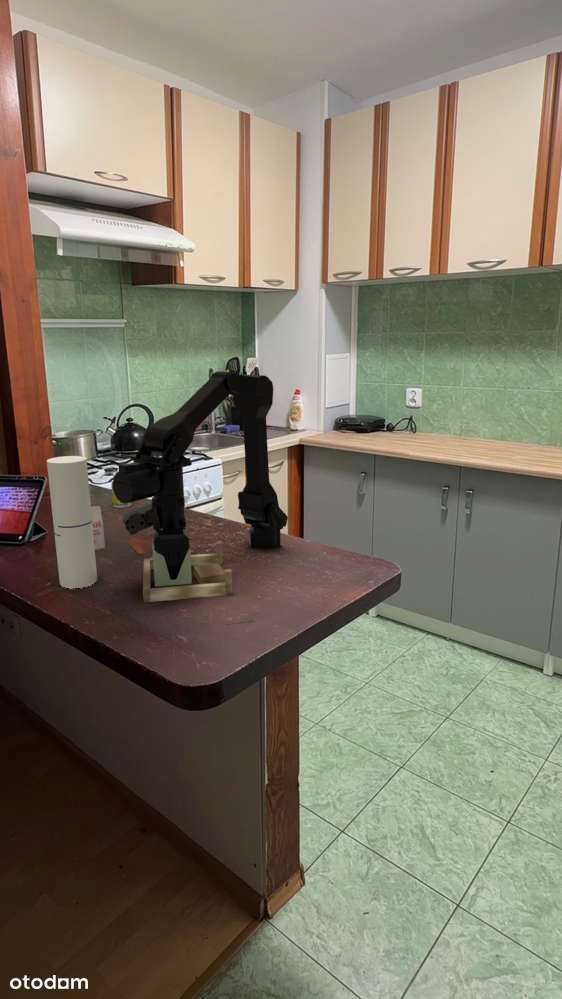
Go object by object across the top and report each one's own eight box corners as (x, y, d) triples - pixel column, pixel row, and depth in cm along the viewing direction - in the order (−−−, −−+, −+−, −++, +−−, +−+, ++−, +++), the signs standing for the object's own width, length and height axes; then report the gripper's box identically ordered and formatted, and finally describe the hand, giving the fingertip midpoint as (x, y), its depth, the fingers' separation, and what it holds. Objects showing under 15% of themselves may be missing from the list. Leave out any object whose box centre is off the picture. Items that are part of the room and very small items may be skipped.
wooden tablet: (199, 569, 129) (199, 562, 129) (153, 577, 125) (152, 570, 125) (165, 534, 152) (164, 528, 152) (125, 540, 148) (124, 533, 148)
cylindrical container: (84, 590, 117) (72, 464, 110) (52, 586, 119) (38, 462, 112) (104, 577, 124) (93, 456, 117) (73, 573, 125) (61, 455, 119)
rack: (222, 568, 128) (221, 541, 126) (232, 601, 112) (231, 571, 110) (145, 574, 125) (143, 547, 123) (144, 609, 109) (141, 578, 107)
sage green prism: (191, 583, 120) (188, 536, 118) (192, 590, 117) (189, 541, 114) (155, 586, 119) (152, 538, 116) (155, 593, 115) (152, 544, 113)
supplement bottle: (123, 509, 173) (120, 476, 170) (109, 507, 175) (106, 474, 173) (135, 504, 177) (133, 472, 175) (121, 502, 180) (119, 471, 177)
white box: (72, 549, 140) (68, 507, 138) (101, 544, 143) (98, 504, 141) (74, 554, 137) (70, 511, 134) (105, 549, 140) (101, 507, 137)
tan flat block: (218, 572, 122) (218, 563, 122) (226, 583, 117) (226, 573, 116) (194, 576, 121) (193, 566, 120) (201, 587, 115) (200, 577, 115)
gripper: (126, 483, 120) (131, 557, 124) (121, 508, 102) (128, 593, 106) (182, 480, 122) (186, 553, 126) (187, 504, 105) (191, 588, 109)
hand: (172, 570), depth 117 cm, fingers open, 9 cm apart
